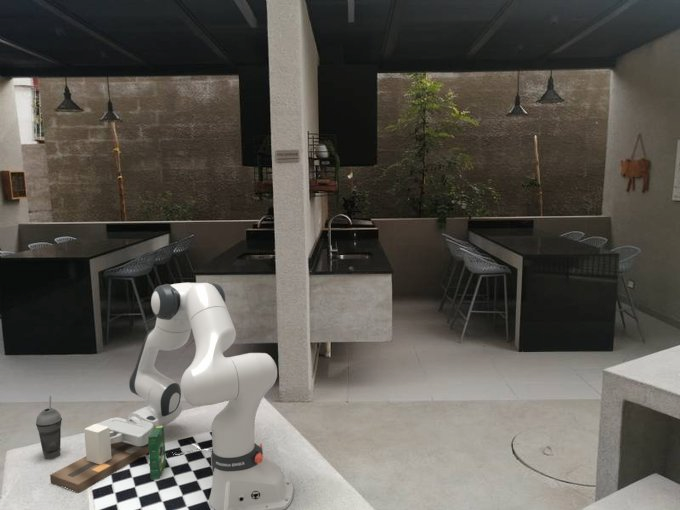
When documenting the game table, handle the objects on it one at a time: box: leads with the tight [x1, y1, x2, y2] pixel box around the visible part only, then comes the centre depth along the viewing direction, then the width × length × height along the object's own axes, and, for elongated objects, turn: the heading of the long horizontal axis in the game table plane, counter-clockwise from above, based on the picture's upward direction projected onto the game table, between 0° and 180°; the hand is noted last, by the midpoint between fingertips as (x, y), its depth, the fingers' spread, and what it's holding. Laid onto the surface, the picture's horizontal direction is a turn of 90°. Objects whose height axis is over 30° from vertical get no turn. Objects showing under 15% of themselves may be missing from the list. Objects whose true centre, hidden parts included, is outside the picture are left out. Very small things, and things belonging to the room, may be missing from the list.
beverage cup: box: [35, 395, 63, 461], centre depth 168 cm, size 7×7×20 cm
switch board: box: [49, 442, 149, 493], centre depth 162 cm, size 26×12×3 cm, turn 153°
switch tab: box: [83, 423, 112, 465], centre depth 160 cm, size 4×6×10 cm, turn 63°
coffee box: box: [148, 425, 167, 481], centre depth 158 cm, size 8×3×13 cm, turn 4°
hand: (104, 442), depth 162 cm, fingers closed, pressing on switch tab
